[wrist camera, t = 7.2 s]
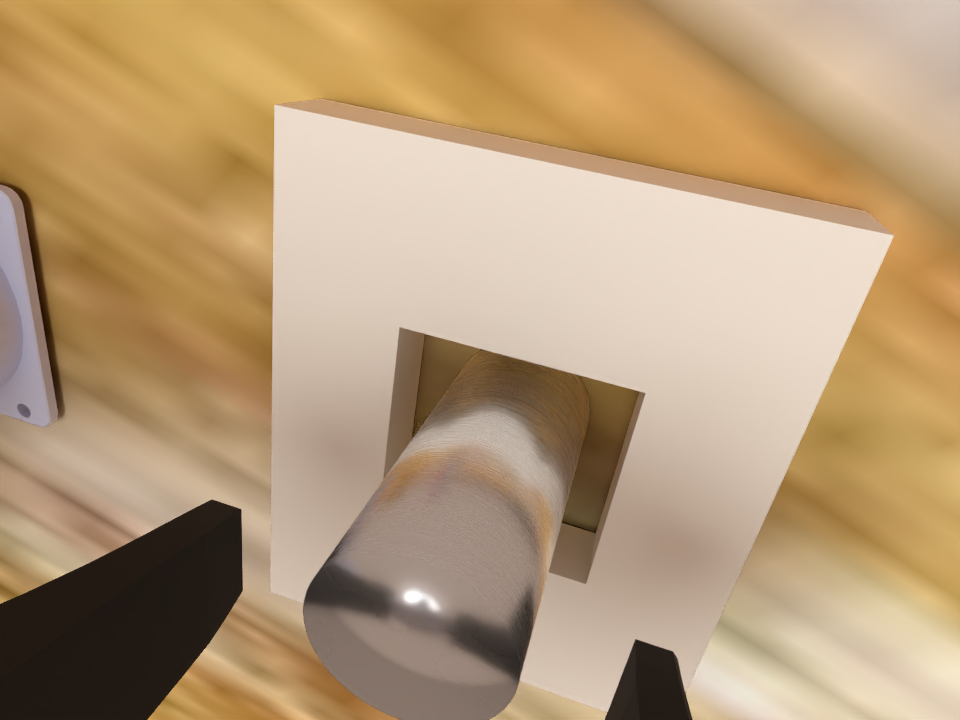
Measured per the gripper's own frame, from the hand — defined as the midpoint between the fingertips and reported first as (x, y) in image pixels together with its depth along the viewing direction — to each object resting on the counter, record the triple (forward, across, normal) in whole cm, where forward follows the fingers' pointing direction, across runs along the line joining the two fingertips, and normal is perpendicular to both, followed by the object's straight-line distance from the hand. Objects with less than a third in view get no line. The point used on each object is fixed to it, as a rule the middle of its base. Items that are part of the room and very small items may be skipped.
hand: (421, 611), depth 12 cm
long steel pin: (+7, 0, 0) cm, 7 cm away
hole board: (+7, 0, 0) cm, 7 cm away
